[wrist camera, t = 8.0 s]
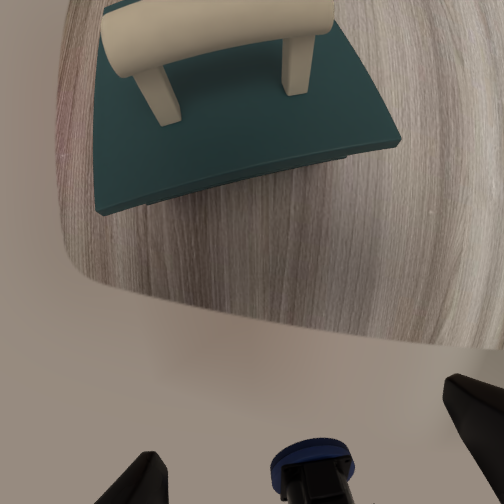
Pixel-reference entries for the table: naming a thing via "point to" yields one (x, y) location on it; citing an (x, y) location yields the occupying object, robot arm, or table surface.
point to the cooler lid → (224, 95)
